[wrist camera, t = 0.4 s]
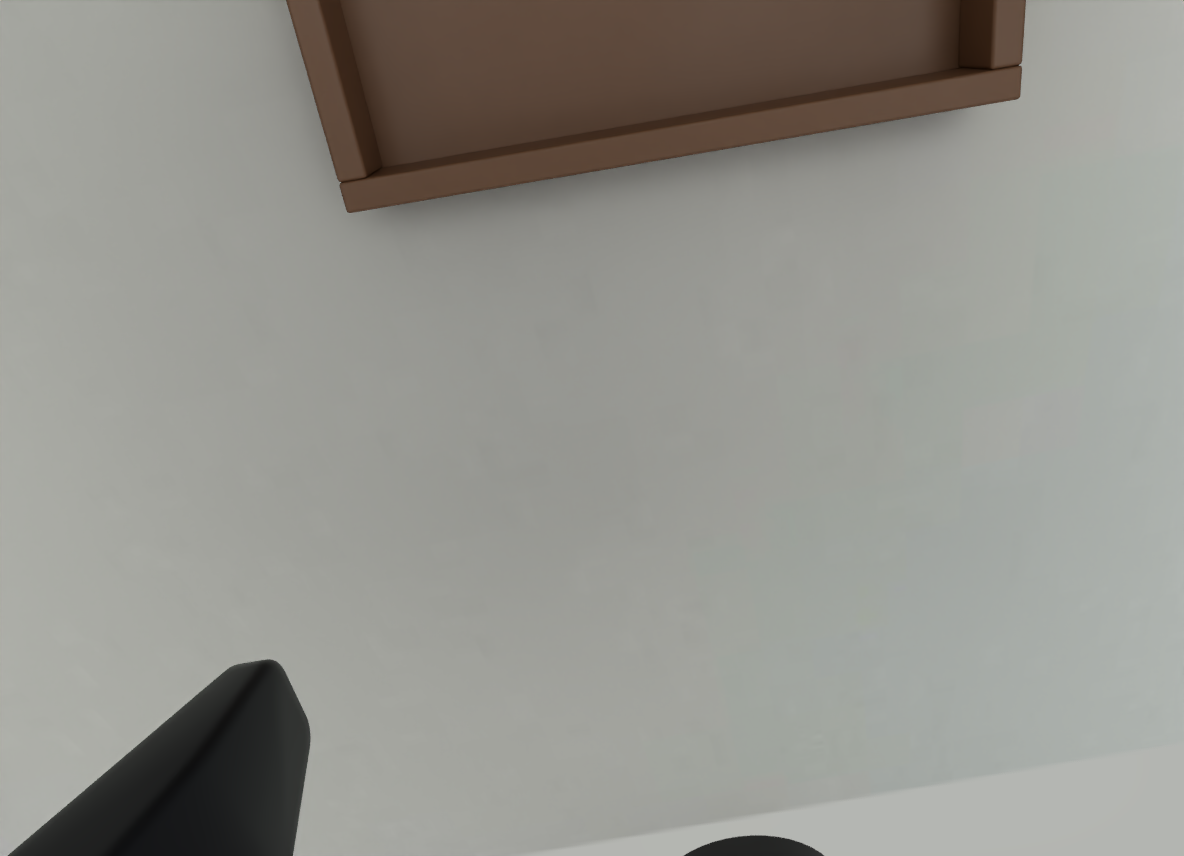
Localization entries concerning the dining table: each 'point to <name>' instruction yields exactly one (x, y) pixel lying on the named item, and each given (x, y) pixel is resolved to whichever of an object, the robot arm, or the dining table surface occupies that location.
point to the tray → (624, 80)
